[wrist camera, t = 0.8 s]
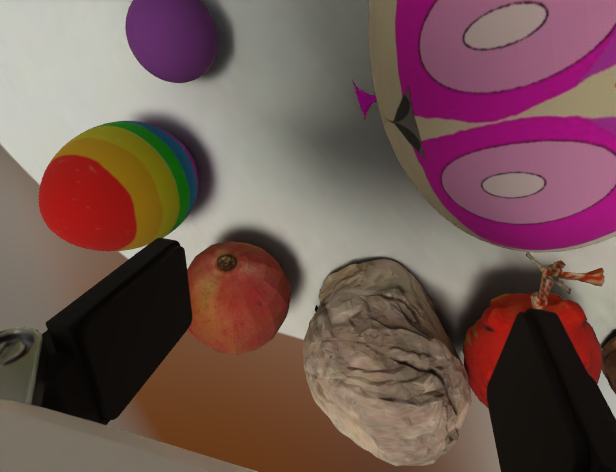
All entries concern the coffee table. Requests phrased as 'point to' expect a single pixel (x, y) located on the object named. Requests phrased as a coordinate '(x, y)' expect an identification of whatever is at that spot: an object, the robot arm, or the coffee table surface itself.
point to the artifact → (610, 362)
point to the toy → (503, 114)
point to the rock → (385, 364)
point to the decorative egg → (118, 187)
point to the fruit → (237, 297)
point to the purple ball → (172, 38)
